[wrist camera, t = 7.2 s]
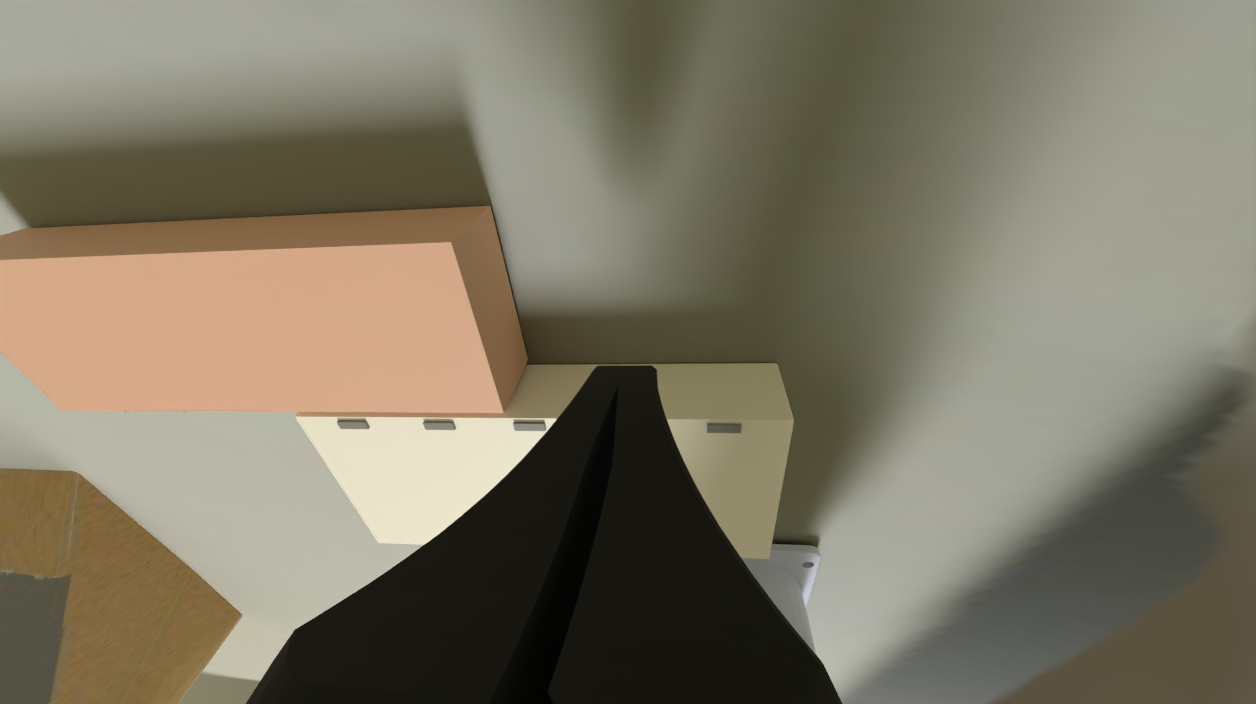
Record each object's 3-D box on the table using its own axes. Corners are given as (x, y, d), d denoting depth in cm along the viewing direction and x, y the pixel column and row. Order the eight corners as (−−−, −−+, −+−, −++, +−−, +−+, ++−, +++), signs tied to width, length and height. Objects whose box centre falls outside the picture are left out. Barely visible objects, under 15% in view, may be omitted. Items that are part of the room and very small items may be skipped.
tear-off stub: (528, 359, 16) (503, 413, 14) (139, 362, 18) (62, 410, 16) (490, 205, 13) (451, 241, 11) (25, 228, 15) (-91, 263, 13)
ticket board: (758, 497, 20) (769, 561, 17) (410, 488, 22) (377, 544, 19) (777, 363, 16) (795, 422, 13) (345, 366, 17) (292, 418, 15)
